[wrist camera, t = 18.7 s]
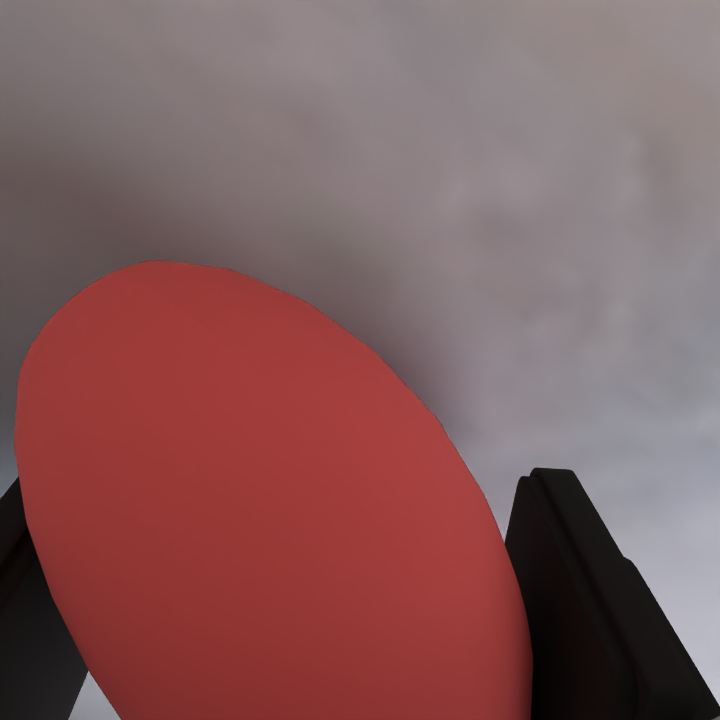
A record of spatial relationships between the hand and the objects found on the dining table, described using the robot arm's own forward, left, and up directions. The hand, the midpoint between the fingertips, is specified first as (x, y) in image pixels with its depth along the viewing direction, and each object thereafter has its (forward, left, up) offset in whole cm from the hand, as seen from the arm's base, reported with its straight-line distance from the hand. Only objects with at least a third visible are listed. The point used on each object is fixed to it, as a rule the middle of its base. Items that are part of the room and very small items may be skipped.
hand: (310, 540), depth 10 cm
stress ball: (0, 0, -1) cm, 1 cm away
